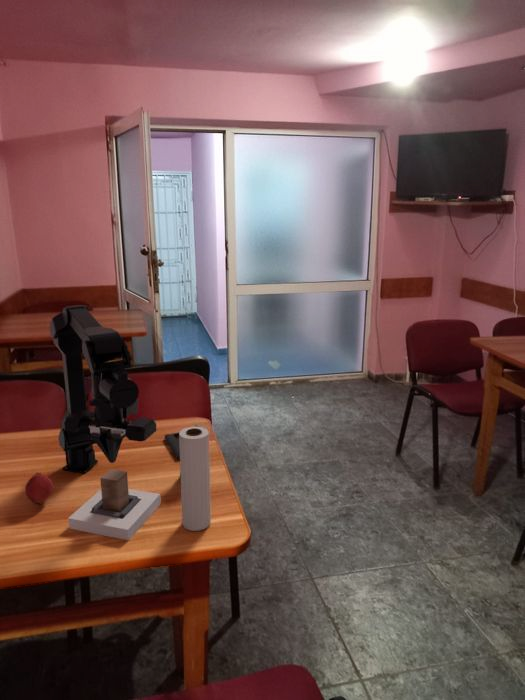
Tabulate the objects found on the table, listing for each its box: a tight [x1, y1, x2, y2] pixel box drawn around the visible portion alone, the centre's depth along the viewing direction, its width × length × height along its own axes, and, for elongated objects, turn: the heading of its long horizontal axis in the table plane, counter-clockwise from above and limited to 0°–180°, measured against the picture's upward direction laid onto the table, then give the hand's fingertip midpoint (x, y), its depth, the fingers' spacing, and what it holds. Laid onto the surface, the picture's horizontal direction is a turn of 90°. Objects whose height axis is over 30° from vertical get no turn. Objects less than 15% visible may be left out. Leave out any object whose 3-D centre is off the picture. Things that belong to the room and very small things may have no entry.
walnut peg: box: [99, 468, 129, 513], centre depth 112 cm, size 4×4×10 cm
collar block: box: [68, 488, 161, 541], centre depth 113 cm, size 14×14×3 cm
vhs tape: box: [164, 431, 180, 461], centre depth 146 cm, size 14×8×2 cm, turn 24°
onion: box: [25, 471, 54, 505], centre depth 117 cm, size 6×6×8 cm
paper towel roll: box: [178, 422, 212, 532], centre depth 109 cm, size 7×6×21 cm
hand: (112, 462), depth 110 cm, fingers closed
